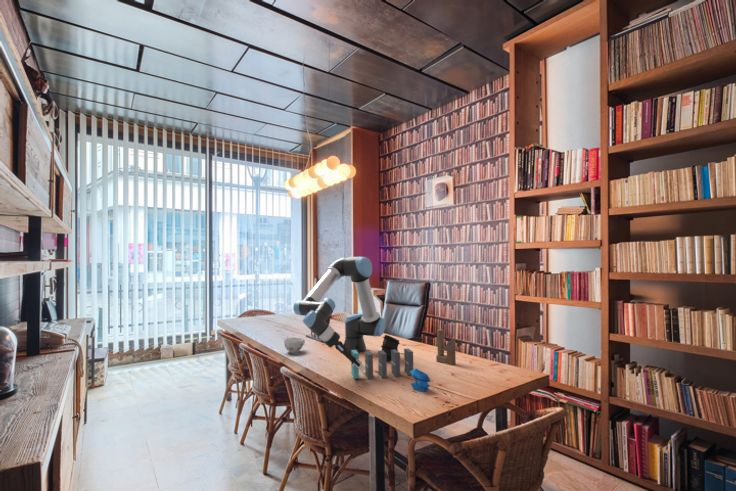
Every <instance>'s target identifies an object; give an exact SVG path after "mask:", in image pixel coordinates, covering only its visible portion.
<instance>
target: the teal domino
mask: <svg viewBox="0 0 736 491" xmlns="http://www.w3.org/2000/svg"><path fill="white" fill-rule="evenodd" d="M351 354H352V355H353V356H354V357H355V358H356V359H357V360H358V361H359V360H360V356H359V355H360V353H358V352H357V351H356V350H351ZM350 366H351V372H350V374H351V376H352V377H353V379H359V378H360V370H359V369H358V368H357V367H356V366H355V365H354V364H350Z"/></svg>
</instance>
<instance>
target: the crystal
mask: <svg viewBox="0 0 736 491" xmlns="http://www.w3.org/2000/svg"><path fill="white" fill-rule="evenodd" d="M410 373H411V375H412V376H411V377H412V378H413V379H414V380H415V381H413V382H411V383H410V386H411V388H412V389H413V390H415V391H419V392H427V391H429V390H430V388H429V387H430V384H429V382H430V383H431V381H432V380H431V379H430V377H429V375H428V374H427V373H426V372H423V371H421V370H420V369H418V368H413V370H411V371H410Z"/></svg>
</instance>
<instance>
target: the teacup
mask: <svg viewBox="0 0 736 491" xmlns="http://www.w3.org/2000/svg"><path fill="white" fill-rule="evenodd" d="M305 341H306V340H305V339H303V338H302V337H287V338H285V339H284V340H283V343H284V347H285V350H287V352H288V353H289V354H297V353H299V352H300V350H301V349H302V348H303V347H304V345H305V343H306V342H305Z"/></svg>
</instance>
